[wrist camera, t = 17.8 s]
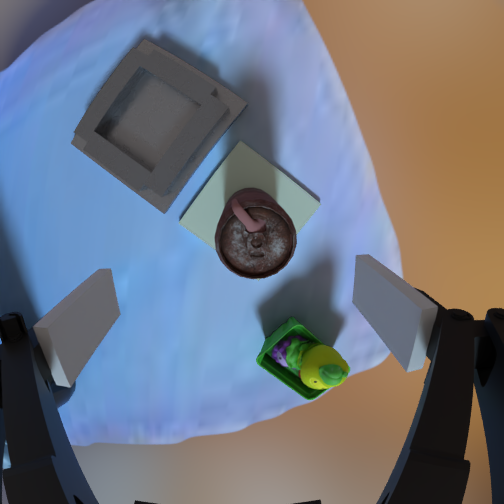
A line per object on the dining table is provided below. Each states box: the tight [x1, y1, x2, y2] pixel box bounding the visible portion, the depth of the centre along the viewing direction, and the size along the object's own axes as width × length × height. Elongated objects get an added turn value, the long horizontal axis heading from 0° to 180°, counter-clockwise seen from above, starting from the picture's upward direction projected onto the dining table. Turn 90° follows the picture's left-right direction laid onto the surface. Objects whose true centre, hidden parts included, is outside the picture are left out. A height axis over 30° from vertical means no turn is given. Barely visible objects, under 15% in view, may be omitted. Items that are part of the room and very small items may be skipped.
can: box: [214, 188, 297, 279], centre depth 28 cm, size 6×6×14 cm
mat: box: [179, 141, 321, 281], centre depth 35 cm, size 12×12×1 cm
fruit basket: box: [256, 317, 350, 400], centre depth 35 cm, size 11×9×11 cm
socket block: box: [71, 39, 248, 214], centre depth 30 cm, size 16×16×4 cm
